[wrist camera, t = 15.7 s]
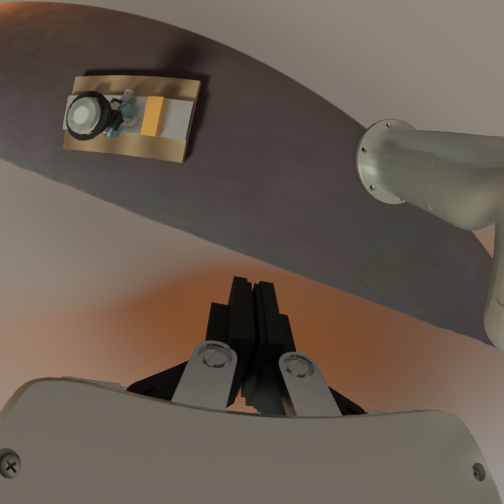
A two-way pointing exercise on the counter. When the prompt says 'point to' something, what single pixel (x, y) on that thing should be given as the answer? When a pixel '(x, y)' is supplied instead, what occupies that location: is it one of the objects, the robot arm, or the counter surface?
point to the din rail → (172, 121)
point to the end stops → (152, 115)
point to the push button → (97, 115)
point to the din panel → (129, 141)
